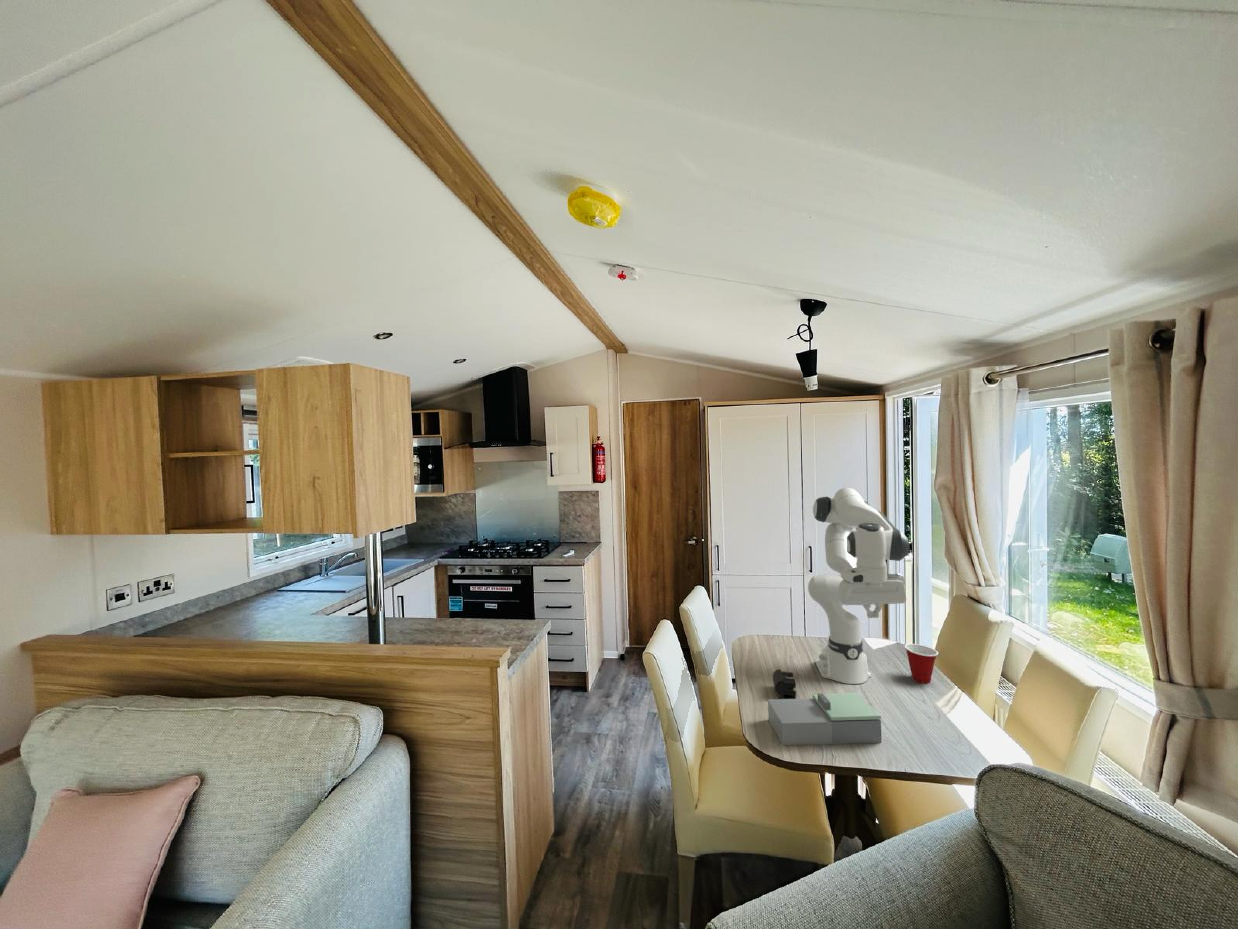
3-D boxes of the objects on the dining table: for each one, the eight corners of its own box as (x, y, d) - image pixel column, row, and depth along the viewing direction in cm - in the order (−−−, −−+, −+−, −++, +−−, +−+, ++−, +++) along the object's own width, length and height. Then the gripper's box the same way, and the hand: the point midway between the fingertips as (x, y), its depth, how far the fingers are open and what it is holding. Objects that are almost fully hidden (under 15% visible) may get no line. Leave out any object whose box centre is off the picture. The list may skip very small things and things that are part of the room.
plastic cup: (942, 688, 178) (941, 655, 178) (908, 684, 182) (907, 652, 182) (935, 675, 188) (934, 644, 188) (903, 672, 192) (902, 641, 192)
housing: (768, 719, 161) (767, 699, 161) (858, 716, 161) (857, 697, 161) (782, 745, 146) (782, 723, 146) (881, 742, 146) (880, 720, 146)
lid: (812, 697, 161) (812, 687, 161) (857, 695, 161) (857, 686, 161) (831, 720, 146) (831, 710, 146) (880, 719, 146) (880, 708, 146)
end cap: (772, 686, 184) (772, 668, 184) (792, 687, 183) (792, 669, 183) (775, 699, 175) (774, 680, 175) (796, 700, 173) (795, 681, 173)
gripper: (898, 571, 161) (899, 613, 161) (835, 573, 161) (837, 615, 161) (909, 575, 155) (911, 619, 155) (844, 577, 155) (845, 621, 155)
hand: (872, 617), depth 158 cm, fingers closed
